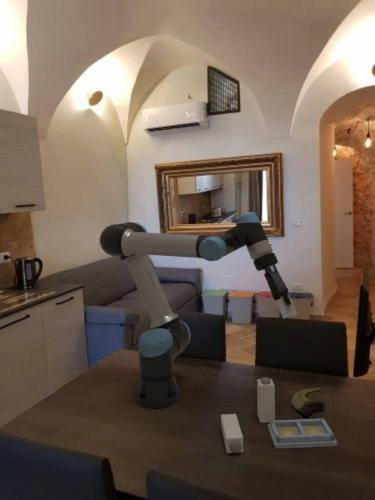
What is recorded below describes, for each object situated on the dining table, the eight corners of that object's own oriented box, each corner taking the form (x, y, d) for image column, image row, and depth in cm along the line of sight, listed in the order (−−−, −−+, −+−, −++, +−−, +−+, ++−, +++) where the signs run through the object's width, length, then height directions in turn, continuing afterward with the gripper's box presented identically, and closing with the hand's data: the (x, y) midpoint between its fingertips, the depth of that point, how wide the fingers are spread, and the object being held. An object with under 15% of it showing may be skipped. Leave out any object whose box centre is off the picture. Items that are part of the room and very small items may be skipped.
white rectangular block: (221, 428, 118) (221, 414, 117) (236, 427, 118) (235, 413, 118) (227, 456, 105) (227, 441, 105) (244, 455, 105) (243, 440, 105)
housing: (275, 448, 107) (275, 439, 107) (267, 427, 117) (267, 419, 117) (337, 446, 107) (337, 437, 107) (324, 425, 117) (324, 417, 117)
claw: (326, 420, 120) (326, 410, 120) (291, 418, 122) (291, 407, 122) (320, 391, 139) (320, 382, 139) (290, 389, 141) (290, 380, 141)
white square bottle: (260, 422, 120) (259, 382, 118) (257, 414, 124) (257, 376, 123) (275, 422, 120) (274, 382, 118) (271, 414, 124) (271, 375, 123)
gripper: (278, 243, 117) (308, 309, 112) (270, 258, 141) (294, 313, 136) (254, 253, 117) (284, 319, 112) (250, 266, 141) (274, 321, 136)
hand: (290, 316), depth 124 cm, fingers open, 13 cm apart
